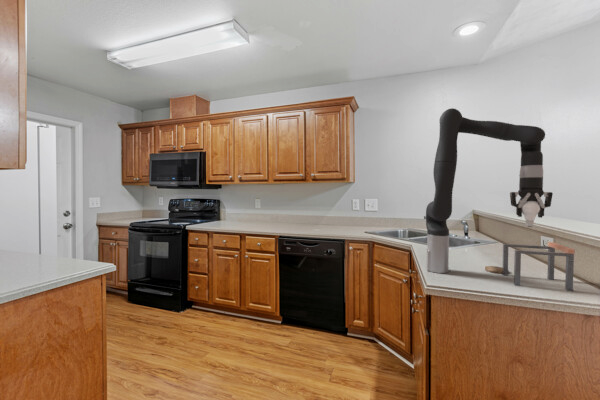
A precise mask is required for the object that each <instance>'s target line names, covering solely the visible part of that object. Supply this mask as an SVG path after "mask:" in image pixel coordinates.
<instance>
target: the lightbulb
mask: <svg viewBox="0 0 600 400" xmlns="http://www.w3.org/2000/svg"><path fill="white" fill-rule="evenodd" d="M521 208H522V215H523V216H524V220H525V226H526V227H527V228H533V227H534V225H535V222H534V221H535V219H536V216H538V213H539V211H540V206H539V204H538V203H537V202H535V201H526V202H525V203H524V204H523V206H522V207H521Z"/></svg>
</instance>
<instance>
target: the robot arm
mask: <svg viewBox="0 0 600 400" xmlns="http://www.w3.org/2000/svg"><path fill="white" fill-rule="evenodd" d="M459 133H463V134H468V135H469V134H471V135H477V136H481V137H487V138H491V139H496V140H500V141H504V142H505V141H508V142H509V141H514V142H519V143H520V144H519V145H520V156H521V157H520V168H519V174H518V175H519V183H518V185H519V186H518V191H511V192H510V193H509V195H510V196H509V197H510V205H511V206H512V207H514V208H515V211H516V212H515V214H516V216H517V217H518V218H523V213H522V208H521V207H522V206H523V204H524V203H525V202H526V201H535V202H537V203H538V204H539V206H540V211H539V213H538V214H537V217H538V218H543V217H544V216H545V208H550V207H551V206H552V199H553V192H550V191H544V190H543V187H544V167H543V165H544V164H543V163H544V156H543V152H542V142H543V140H544V139H545V138H546V133H545V130H544V129H543V128H541V127H539V126H534V125H525V124H524V125H522V124H514V123H509V122H503V121H496V120H475V119H470V118H466V117H463V115H462V113H461V112H460V110H458V109H457V108H452V107H451V108H448V109H446V110H445V111H443V112H442V113H441V115H440V118H439V137H438V143H437V147H436V152H435V158H434V165H433V180H434V181H433V182H434V197H433V201H430V202H429V203H428V204H427V205H426V209H425V226H426V230H427V231H426V232H427V233H426V236H427V237H426V238H427V239H426V246H427V247H426V271H427V272H431V273H438V274H447V273H449V269H450V268H449V265H450V263H449V257H450V256H449V255H450V253H449V252H450V229H449V228H448V224H447V220H448V219H450V217H451V216H452V212H453V191H454V190H453V189H454V185H455V183H454V182H455V176H456V171H457V162H458V136H459ZM518 196H519V197H520V199H519V200H518V201H517V197H518ZM542 197H544V198H545V199H544V202H543V199H542ZM517 202H518V203H517Z"/></svg>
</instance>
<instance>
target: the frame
mask: <svg viewBox="0 0 600 400" xmlns="http://www.w3.org/2000/svg"><path fill="white" fill-rule="evenodd" d="M509 248H521V249H522V248H523V250H519V249H514V258H513V259H514V260H513V261H514V263H513V264H514V265H513V269H514V270H513V284H514V286H517V287H519V286H521V269H522V268H521V266H522V265H521V264H522V263H521V262H522V254H523V255H537V256H538V255H539V256H541V255H542V256H547V280H550V281H552V280H553V281H554V280H555V257H565V279H564V280H565V283H564V284H565V286H564V289H565V290H566V291H570V292H574V262H575V259H574V258H575V254H569V253H565V252H556V251H555V250H556V249H555V248H552V247H550V246H548V245H535V244H533V245H531V244H530V245H529V244H517V243H516V244H513V243H503V244H502V268H503V269H502V274H501V275H502V276H509ZM524 249H540V250H541V249H542V250H547V251H540V250H539V251H538V250H537V251H535V250H524Z"/></svg>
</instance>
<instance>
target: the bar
mask: <svg viewBox="0 0 600 400" xmlns="http://www.w3.org/2000/svg"><path fill="white" fill-rule="evenodd" d="M547 246H550V247H552V248H555V250H557V251H560V252H562V253H569V254H574V255H575V252H576V251H575V249H574V248H571V247H568V246H565V245H562V244H559V243H557V242H552V241H548V242H547Z"/></svg>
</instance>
